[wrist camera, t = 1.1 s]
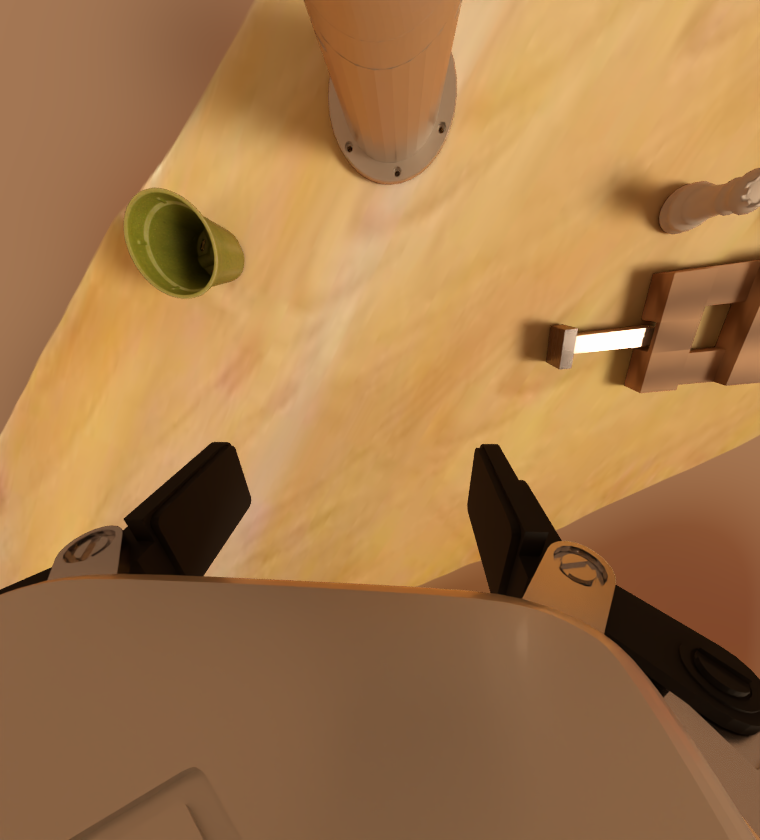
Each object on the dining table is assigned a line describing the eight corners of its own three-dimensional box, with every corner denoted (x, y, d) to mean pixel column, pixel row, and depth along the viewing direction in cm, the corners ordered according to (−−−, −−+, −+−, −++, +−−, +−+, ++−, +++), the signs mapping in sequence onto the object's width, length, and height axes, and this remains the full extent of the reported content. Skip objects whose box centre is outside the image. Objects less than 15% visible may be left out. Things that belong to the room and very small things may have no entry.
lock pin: (550, 325, 36) (565, 329, 33) (648, 314, 35) (673, 317, 32) (546, 362, 38) (559, 369, 35) (637, 352, 37) (660, 359, 34)
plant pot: (179, 274, 37) (120, 272, 29) (189, 193, 33) (124, 166, 25) (247, 308, 38) (208, 314, 30) (265, 233, 34) (225, 219, 26)
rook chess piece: (663, 244, 32) (739, 233, 25) (649, 208, 31) (724, 185, 23) (708, 212, 30) (803, 191, 23) (695, 173, 29) (792, 137, 22)
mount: (652, 273, 33) (675, 272, 30) (791, 255, 31) (827, 252, 29) (623, 385, 39) (640, 393, 36) (738, 375, 37) (764, 382, 35)
